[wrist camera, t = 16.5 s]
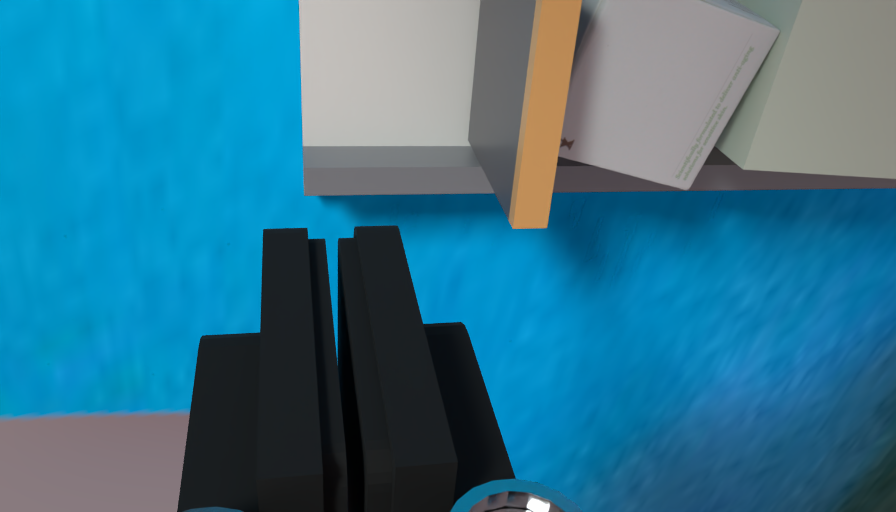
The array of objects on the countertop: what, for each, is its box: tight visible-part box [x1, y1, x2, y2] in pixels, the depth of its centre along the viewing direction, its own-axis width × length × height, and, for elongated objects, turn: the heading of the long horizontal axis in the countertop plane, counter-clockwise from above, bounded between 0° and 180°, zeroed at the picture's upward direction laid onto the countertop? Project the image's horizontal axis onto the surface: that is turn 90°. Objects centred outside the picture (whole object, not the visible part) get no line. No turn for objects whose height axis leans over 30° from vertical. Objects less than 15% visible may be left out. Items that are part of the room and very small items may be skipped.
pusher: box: [468, 0, 582, 229], centre depth 23 cm, size 1×7×6 cm, turn 177°
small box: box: [558, 0, 780, 190], centre depth 24 cm, size 6×6×5 cm
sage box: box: [714, 0, 896, 179], centre depth 25 cm, size 6×6×6 cm
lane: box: [299, 0, 896, 196], centre depth 26 cm, size 27×11×5 cm, turn 87°
